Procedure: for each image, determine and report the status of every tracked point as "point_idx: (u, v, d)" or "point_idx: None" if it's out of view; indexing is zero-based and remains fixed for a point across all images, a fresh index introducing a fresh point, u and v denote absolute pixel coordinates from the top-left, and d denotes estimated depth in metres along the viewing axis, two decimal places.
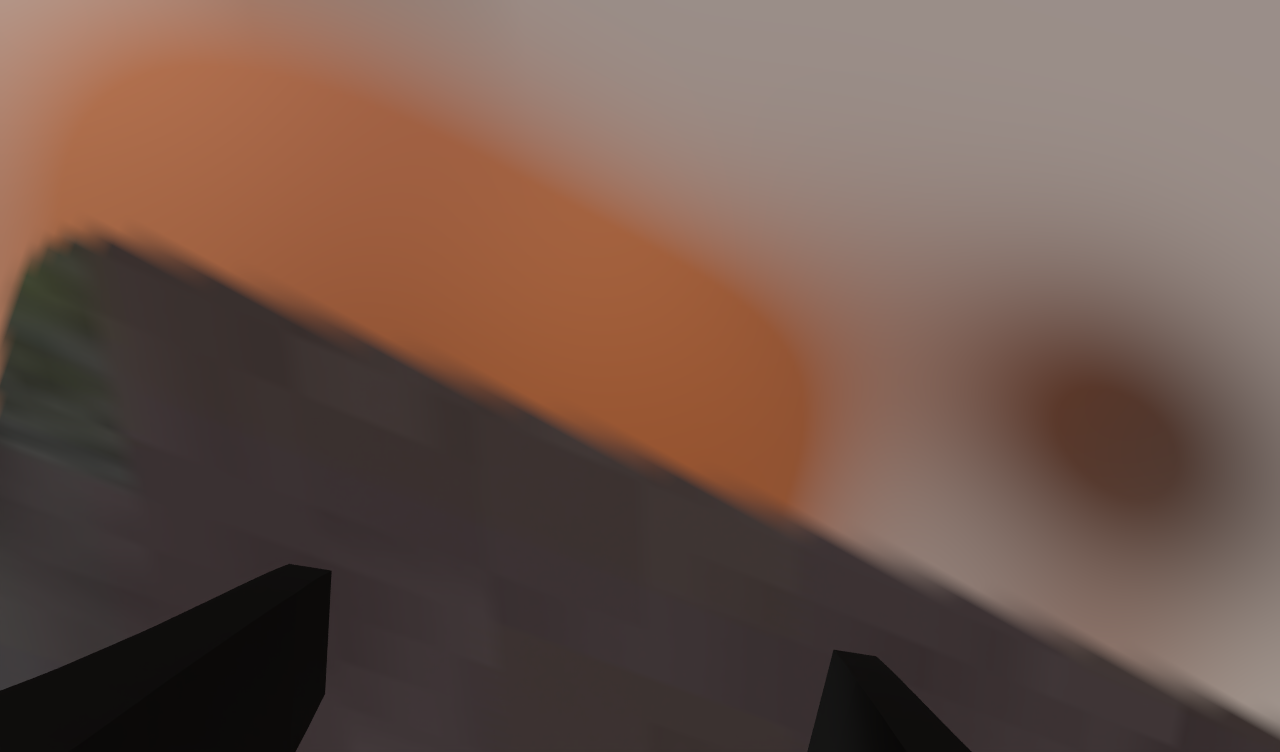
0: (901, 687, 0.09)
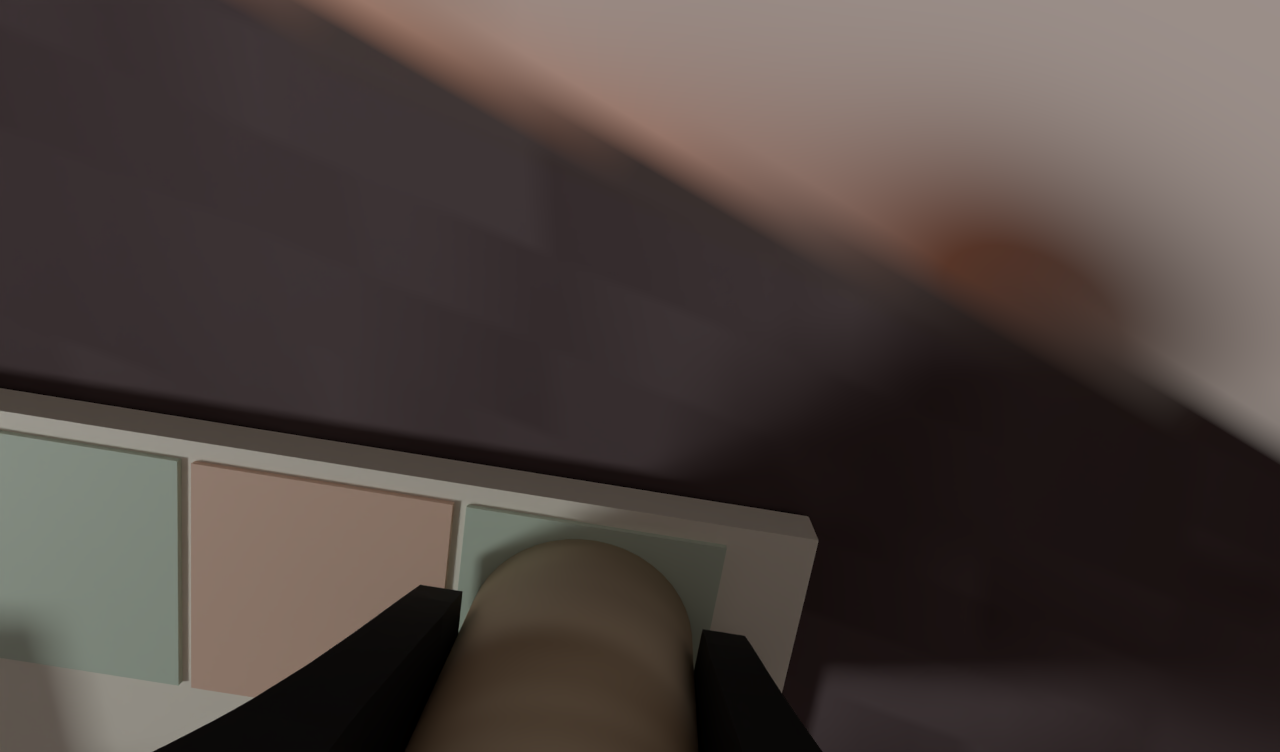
0: (755, 664, 0.09)
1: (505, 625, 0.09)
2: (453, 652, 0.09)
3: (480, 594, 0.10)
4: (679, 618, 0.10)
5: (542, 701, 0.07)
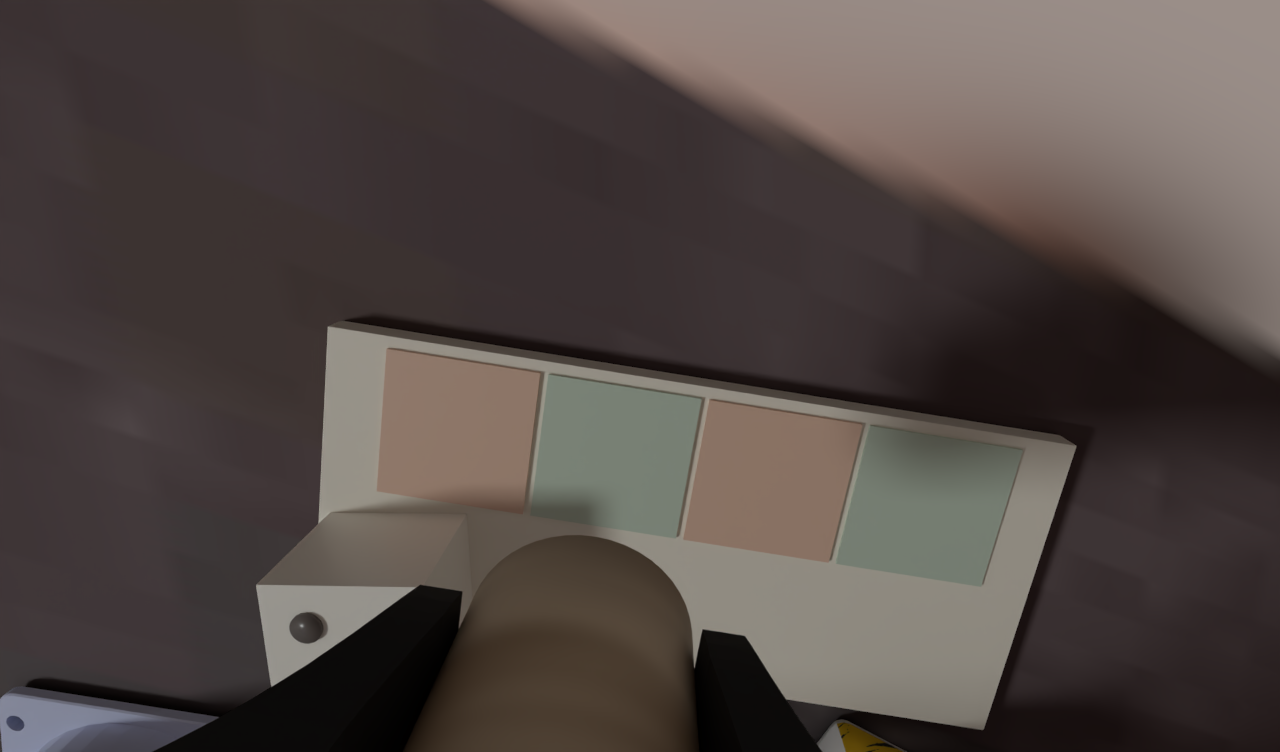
0: (755, 664, 0.09)
1: (505, 620, 0.09)
2: (454, 647, 0.09)
3: (480, 590, 0.10)
4: (679, 613, 0.10)
5: (543, 695, 0.07)
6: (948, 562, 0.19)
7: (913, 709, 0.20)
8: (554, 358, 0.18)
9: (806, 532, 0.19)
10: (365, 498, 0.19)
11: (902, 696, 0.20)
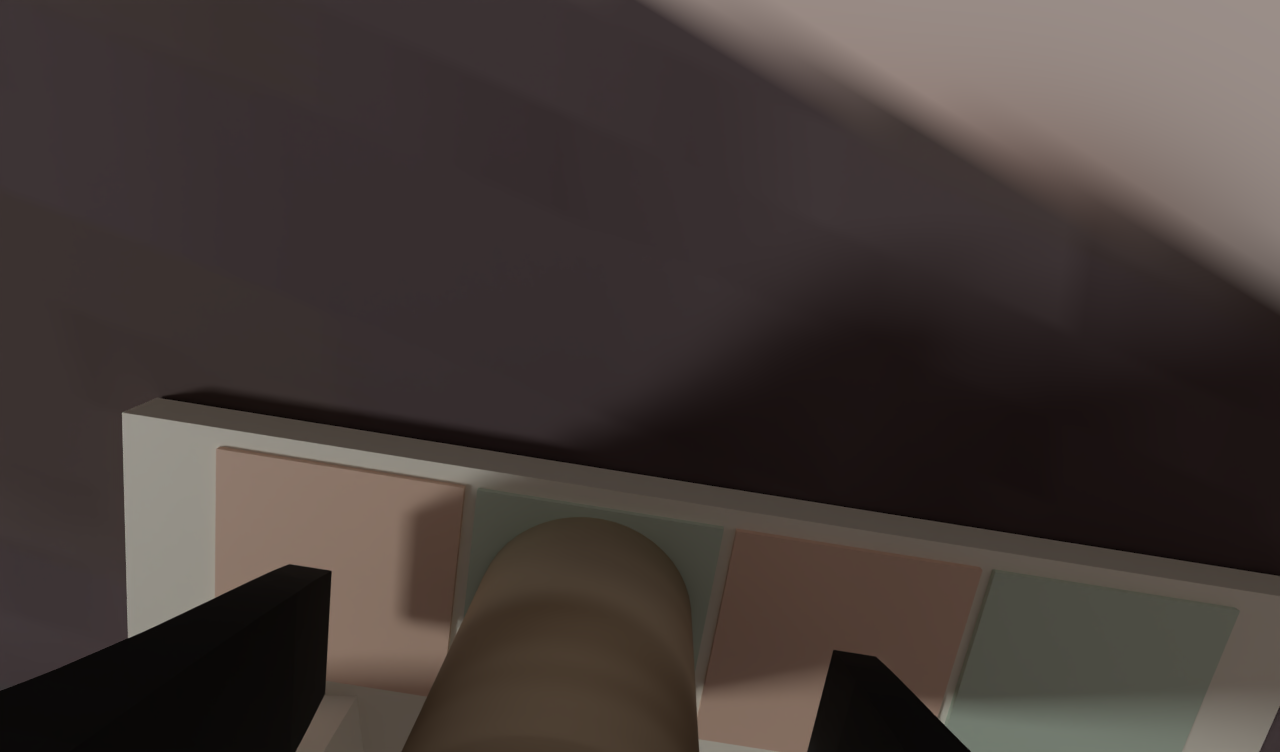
0: (900, 687, 0.09)
1: (515, 593, 0.09)
2: (466, 619, 0.10)
3: (490, 568, 0.11)
4: (679, 591, 0.11)
5: (552, 657, 0.08)
6: None
7: None
8: (489, 460, 0.12)
9: None
10: None
11: None
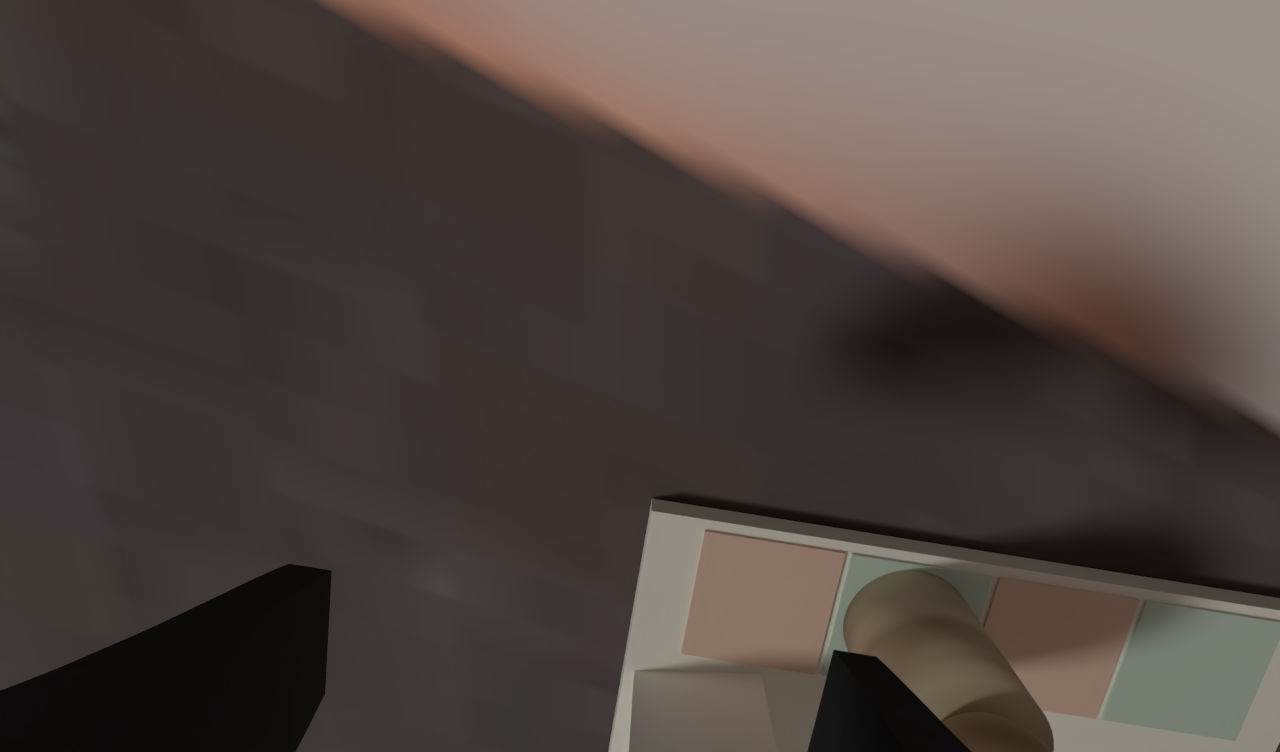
0: (901, 687, 0.09)
1: (911, 614, 0.18)
2: (877, 628, 0.18)
3: (866, 599, 0.19)
4: None
5: (963, 648, 0.16)
6: (1207, 719, 0.21)
7: None
8: (852, 536, 0.20)
9: (1077, 692, 0.20)
10: (668, 659, 0.21)
11: None
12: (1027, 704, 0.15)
